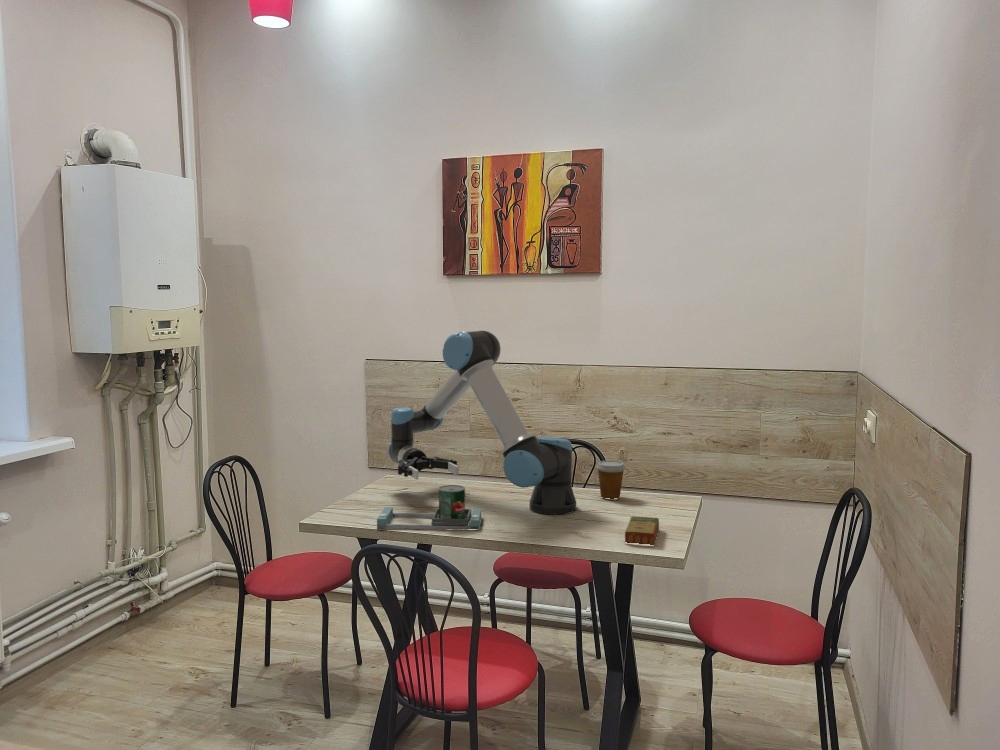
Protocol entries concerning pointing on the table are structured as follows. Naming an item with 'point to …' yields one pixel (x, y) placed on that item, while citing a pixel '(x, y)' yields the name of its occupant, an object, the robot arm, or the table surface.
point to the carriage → (450, 521)
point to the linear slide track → (388, 511)
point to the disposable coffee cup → (610, 478)
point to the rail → (422, 515)
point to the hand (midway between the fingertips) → (437, 472)
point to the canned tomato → (452, 502)
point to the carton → (642, 530)
